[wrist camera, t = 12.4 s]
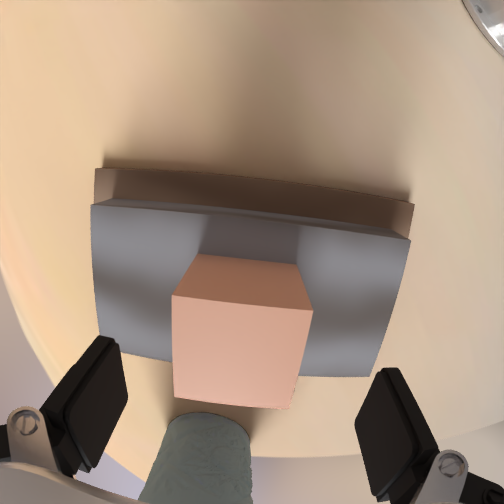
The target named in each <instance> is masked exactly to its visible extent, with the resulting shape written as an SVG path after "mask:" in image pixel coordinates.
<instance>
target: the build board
mask: <svg viewBox="0 0 504 504" xmlns="http://www.w3.org/2000/svg"><path fill="white" fill-rule="evenodd" d="M414 205H415V204H412V203H409V202H405V201H400V200H395V199H390V198H385V197H380V196H374V195H369V194H363V193H358V192H352V191H346V190H340V189H334V188H327V187H321V186H314V185H307V184H300V183H293V182H285V181H277V180H269V179H260V178H252V177H242V176H232V175H222V174H210V173H198V172H184V171H169V170H150V169H125V168H96V169H95V182H94V204H92V205H91V250H92V268H93V281H94V292H95V301H96V310H97V318H98V326H99V332H100V335H102V336H106V337H111V338H114V339H115V342H116V343H118V344H119V347H120V352H122V353H127V354H132V355H136V356H141V357H146V358H152V359H157V360H163V361H168V362H173V359H172V294H173V292H174V290H175V289H176V287H177V286H178V284H179V282H180V281H181V279H182V277H183V276H184V274H185V273H186V271H187V269H188V268H189V266H190V264H191V263H192V261H193V260H194V258H195V256H196V255H197V254H206V255H215V256H224V257H232V258H241V259H250V260H259V261H268V262H278V263H287V264H296V265H297V267H298V270H299V272H300V275H301V278H302V281H303V283H304V286H305V289H306V292H307V294H308V297H309V300H310V303H311V305H312V308H313V315H312V319H311V324H310V328H309V333H308V337H307V341H306V345H305V350H304V354H303V358H302V362H301V366H300V370H299V374H298V376H317V377H369V376H370V374H371V371H372V368H373V366H374V363H375V361H376V358H377V355H378V353H379V350H380V347H381V344H382V341H383V339H384V336H385V333H386V330H387V327H388V324H389V321H390V317H391V314H392V311H393V308H394V304H395V301H396V298H397V294H398V291H399V287H400V284H401V280H402V276H403V272H404V268H405V264H406V260H407V256H408V252H409V248H410V243H411V240H409V239H408V236H409V231H410V226H411V221H412V216H413V211H414Z"/></svg>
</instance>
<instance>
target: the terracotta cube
mask: <svg viewBox="0 0 504 504" xmlns="http://www.w3.org/2000/svg"><path fill="white" fill-rule="evenodd" d="M312 315H313V308H312V305H311V303H310V300H309V297H308V294H307V292H306V289H305V286H304V283H303V281H302V278H301V275H300V272H299V270H298V267H297V265H296V264H287V263H278V262H268V261H259V260H250V259H241V258H232V257H224V256H215V255H206V254H197V255H196V256H195V258H194V260H193V261H192V263H191V264H190V266H189V268H188V269H187V271H186V273H185V274H184V276H183V277H182V279H181V281H180V282H179V284H178V286H177V287H176V289H175V290H174V292H173V294H172V359H173V383H174V397H178V398H184V399H191V400H197V401H204V402H211V403H219V404H228V405H237V406H248V407H260V408H275V409H289V407H290V404H291V400H292V396H293V393H294V389H295V385H296V381H297V377H298V374H299V370H300V366H301V362H302V358H303V354H304V350H305V345H306V341H307V337H308V333H309V328H310V324H311V319H312Z"/></svg>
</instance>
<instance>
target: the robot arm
mask: <svg viewBox="0 0 504 504" xmlns="http://www.w3.org/2000/svg"><path fill="white" fill-rule="evenodd" d="M463 2H464V4H465V6H466V8H467V10H468V12H469V13H470V15H471V17H472V18H473V20H474V22H475V23H476V24H477V26H478V27H479V29H480V30H481V32H482V33H483V34H484V36H485V37H486V38H487V39H488V41H489V42H490V43H491V44H492V45H493V46H494V47H495V49H496V50H497V51H498V52H499V53H500V54H501V55H502V56H504V0H463ZM127 400H128V392H127V387H126V382H125V377H124V371H123V366H122V360H121V353H120V347H119V344H118V343H116V342H115V339H114V338H111V337H106V336H102V335H99V336H97V338H96V339H95V340H94V341H93V342H92V344H91V345H90V346H89V347H88V349H87V350H86V351H85V352H84V354H83V355H82V356H81V358H80V359H79V360H78V361H77V363H76V364H74V365H73V366H72V367H71V368H70V369H69V371H68V372H67V373H66V375H65V376H64V377H63V379H62V380H61V381H60V382H59V384H58V385H57V386H56V388H55V389H54V390H53V392H52V393H51V395H50V396H49V397H48V398H47V400H46V401H45V403H44V404H43V405H42V407H41V408H40V409H39V410H37V409H35V408H33V407H29V406H28V407H27V406H25V407H20V408H17V409H15V410H14V411H12V412H11V413H10V415H9V416H8V419H7V424H5V425H0V504H149V503H145V502H142V501H138V500H134V499H131V498H128V497H124V496H121V495H118V494H115V493H112V492H108V491H105V490H103V489H100V488H97V487H94V486H91V485H89V484H86V483H83V482H81V481H78V480H77V479H76V477H75V474H76V473H77V471H78V469H79V470H81V471H84V472H86V473H89V472H90V470H91V468H92V467H93V468H95V467H96V466H97V465H98V462H99V460H100V458H101V456H102V454H103V452H104V449H105V447H106V445H107V443H108V441H109V439H110V437H111V435H112V432H113V430H114V428H115V426H116V424H117V422H118V420H119V418H120V416H121V414H122V412H123V410H124V408H125V406H126V403H127ZM355 430H356V434H357V437H358V441H359V445H360V449H361V453H362V456H363V460H364V464H365V468H366V472H367V476H368V480H369V484H370V489H371V493H372V495H373V496H376V498H377V502H383V501H388V500H390V503H391V504H504V489H503V488H502V487H501V486H500V485H498V484H496V483H493V482H491V481H488V480H486V479H484V478H481V477H479V476H477V475H474V474H472V473H470V472H468V467H469V466H468V463H467V460H466V459H465V457H464V456H463V455H462V454H461V453H459V452H457V451H454V450H444V451H441V452H440V451H439V449H438V445H437V443H436V441H435V439H434V437H433V435H432V433H431V430H430V428H429V426H428V424H427V422H426V420H425V418H424V416H423V414H422V412H421V410H420V408H419V406H418V404H417V402H416V400H415V398H414V396H413V394H412V392H411V391H410V389H409V387H408V385H407V383H406V381H405V379H404V377H403V375H402V374H401V372H400V370H399V369H398V368H383V369H382V370H381V371H380V372H377V374H376V376H375V378H374V380H373V383H372V385H371V387H370V389H369V392H368V394H367V396H366V398H365V400H364V402H363V405H362V407H361V409H360V411H359V413H358V415H357V417H356V419H355Z"/></svg>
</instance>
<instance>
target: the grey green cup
mask: <svg viewBox="0 0 504 504" xmlns="http://www.w3.org/2000/svg"><path fill="white" fill-rule="evenodd" d="M250 465H251V452H250V440H249V437H248V435H247V433H246V431H245V430H244V429H243V428H242V427H241V426H240V425H239V424H237V423H236V422H234V421H232V420H230V419H228V418H226V417H223V416H220V415H216V414H211V413H188V414H184V415H181V416H179V417H177V418H175V419H174V420H173V421H172V422H171V423H170V424H169V426H168V428H167V431H166V433H165V435H164V438H163V441H162V444H161V447H160V450H159V452H158V455H157V458H156V460H155V462H154V463H153V466H152V469H151V471H150V474H149V476H148V479H147V482H146V484H145V487H144V489H143V491H142V492H141V494H140V496H139V498H138V501H142V502H145V503H149V504H253V500H252V498H251V495H250V494H251V492H252V490H251V489H252V479H251V478H252V470H251V468H250Z"/></svg>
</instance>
